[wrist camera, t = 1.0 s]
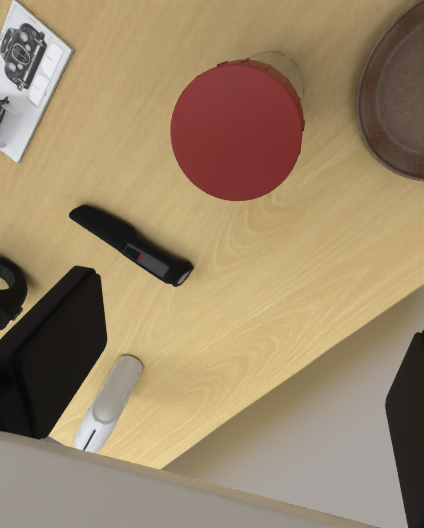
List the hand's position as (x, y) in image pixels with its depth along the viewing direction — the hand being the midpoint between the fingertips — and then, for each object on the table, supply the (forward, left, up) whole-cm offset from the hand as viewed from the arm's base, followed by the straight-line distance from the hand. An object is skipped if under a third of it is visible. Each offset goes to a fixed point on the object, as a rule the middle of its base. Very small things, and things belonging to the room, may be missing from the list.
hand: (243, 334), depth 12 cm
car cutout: (+13, -25, -31) cm, 42 cm away
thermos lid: (-1, -4, -15) cm, 16 cm away
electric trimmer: (+21, -6, -31) cm, 38 cm away
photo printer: (+44, +3, -31) cm, 54 cm away
